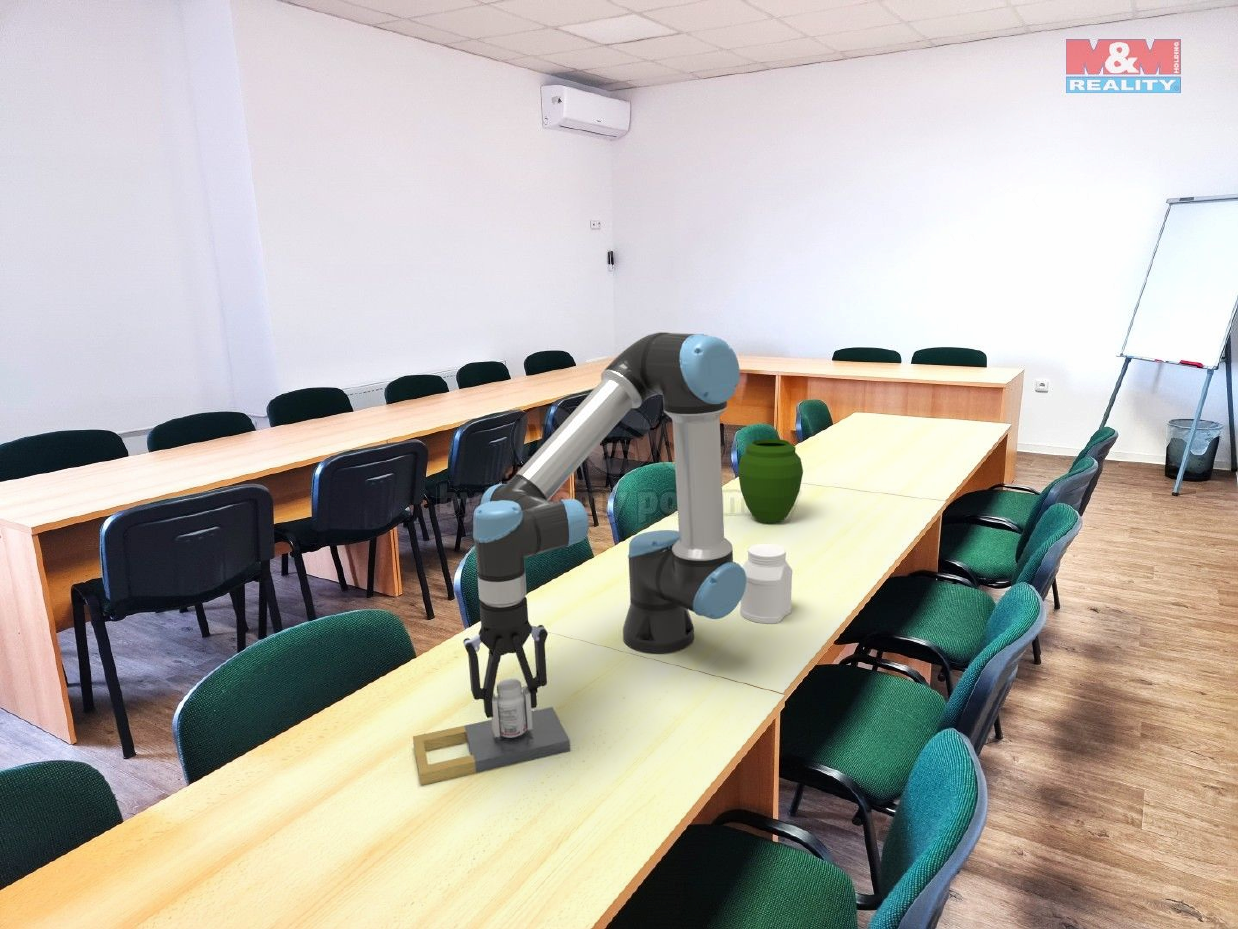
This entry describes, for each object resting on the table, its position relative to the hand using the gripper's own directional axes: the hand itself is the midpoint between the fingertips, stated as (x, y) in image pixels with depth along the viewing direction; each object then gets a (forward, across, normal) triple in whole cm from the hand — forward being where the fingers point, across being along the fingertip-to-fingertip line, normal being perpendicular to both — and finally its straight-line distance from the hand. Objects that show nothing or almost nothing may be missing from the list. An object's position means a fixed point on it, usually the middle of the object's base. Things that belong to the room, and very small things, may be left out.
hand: (512, 728), depth 132 cm
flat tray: (+3, +4, 0) cm, 5 cm away
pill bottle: (+1, 0, 0) cm, 1 cm away
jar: (+3, -64, -29) cm, 71 cm away
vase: (+3, -99, -88) cm, 133 cm away
